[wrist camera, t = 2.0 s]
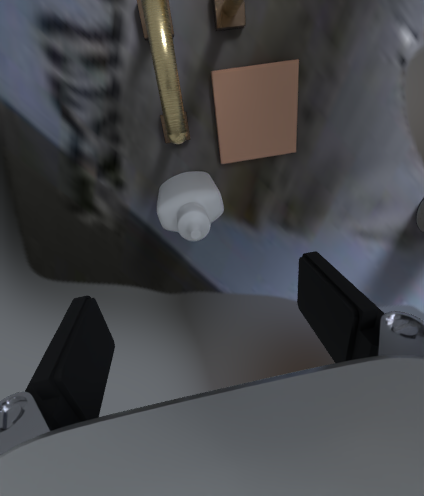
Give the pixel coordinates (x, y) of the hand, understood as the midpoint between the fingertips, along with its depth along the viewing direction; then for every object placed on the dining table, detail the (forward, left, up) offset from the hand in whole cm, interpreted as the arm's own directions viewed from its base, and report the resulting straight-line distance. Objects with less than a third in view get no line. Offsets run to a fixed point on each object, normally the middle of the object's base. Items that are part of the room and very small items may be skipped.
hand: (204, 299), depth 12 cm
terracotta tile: (-6, +8, -18) cm, 21 cm away
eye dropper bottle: (0, 0, -19) cm, 19 cm away
